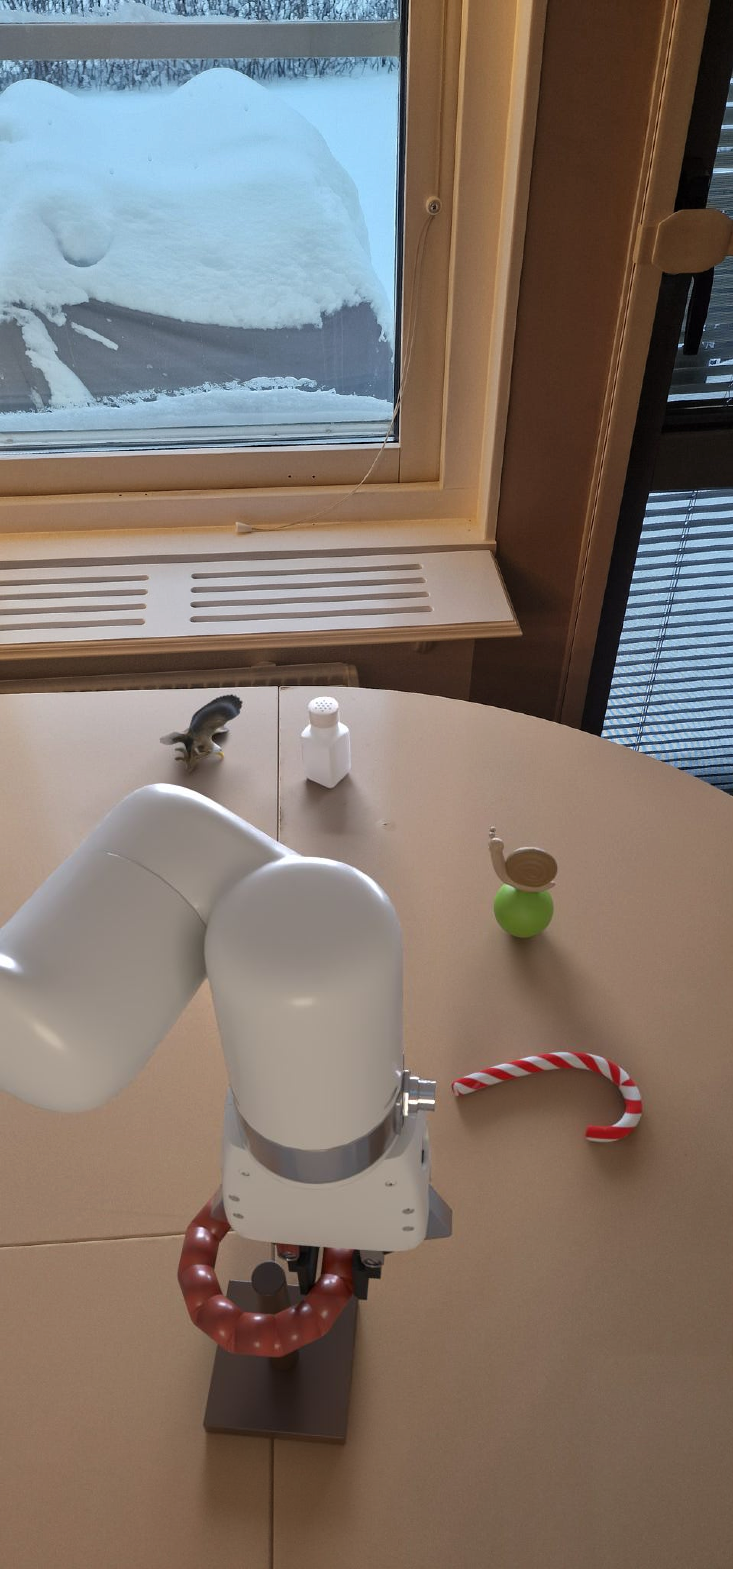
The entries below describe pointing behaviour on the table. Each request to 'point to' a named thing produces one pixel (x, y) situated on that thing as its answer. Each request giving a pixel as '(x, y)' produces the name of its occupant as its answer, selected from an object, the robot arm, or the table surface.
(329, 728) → the pepper shaker
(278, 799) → the table surface
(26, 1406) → the table surface
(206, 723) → the eagle figurine
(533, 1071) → the candy cane
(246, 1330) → the ring
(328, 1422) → the post
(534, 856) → the snail figurine
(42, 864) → the table surface
